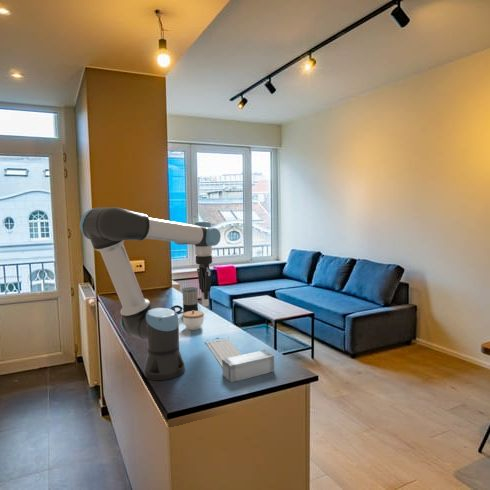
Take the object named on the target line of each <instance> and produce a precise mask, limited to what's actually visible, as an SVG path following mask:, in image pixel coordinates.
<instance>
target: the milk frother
mask: <svg viewBox="0 0 490 490" xmlns="http://www.w3.org/2000/svg"><path fill="white" fill-rule="evenodd" d="M181 290H182V306H181V305H178V304H177V305H173V306H171V307H169V309H171V310H174V311H175V312H176V313H177V314H180V313H182V314H183V313H185V312H188V311H192V310H194V311H199V307H198V306H199V304H198V299H199V298H198V290H199V287H198V288H197V287H191V286H190V287H183V288H182V289H181ZM177 308H178V309H179V310H177V311H176V309H177Z"/></svg>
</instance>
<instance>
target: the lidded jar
mask: <svg viewBox="0 0 490 490" xmlns="http://www.w3.org/2000/svg"><path fill="white" fill-rule="evenodd" d="M204 314H205V313H204V311H200V310H198V311H194V310H192V311H188V312H185V313H183V312H182V319H183V320H182V322H183V324H184V326H185V327H186V328H187V330H190V331H197V330H199V329H200V328H201V327H202V326H203V323H204V319H205V317H204Z"/></svg>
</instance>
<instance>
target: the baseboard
mask: <svg viewBox="0 0 490 490" xmlns="http://www.w3.org/2000/svg"><path fill="white" fill-rule="evenodd" d="M227 338H228V339H227ZM227 338H226V339H224V337H223V338H220V337H215V339H212V341H208V342H207V341H205V342H203V343H204V345H206V346H207V347H208V349H210V351H211V353H212V354H213V356H214V357H215V359H216V360H217V362H218V363H219V365H220V366H221V367H222V359H225V358H230V357H234V356H239V355H243V353H241V351H239V350H238V348H237V347H236V346H235V344H234V343H233V342H232V341H231V340H230V338H229V336H228V337H227ZM222 339H223V340H222ZM213 340H214V341H213Z"/></svg>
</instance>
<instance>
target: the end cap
mask: <svg viewBox="0 0 490 490" xmlns="http://www.w3.org/2000/svg"><path fill="white" fill-rule="evenodd" d="M221 368H222V376H223V377H224V378H225V379H226V380H228V381H229V383H234V382H238V381H242V380H246V379H249V378H254V377H257V376H262V375H265V374H269V373H274V372H275V355H273V354H272V353H270V352H268V351H267V350H266V349H263V350H258V351H253V352H249V353H244V354H242V355H239V356H234V357H230V358H225V359H222V366H221Z"/></svg>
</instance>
